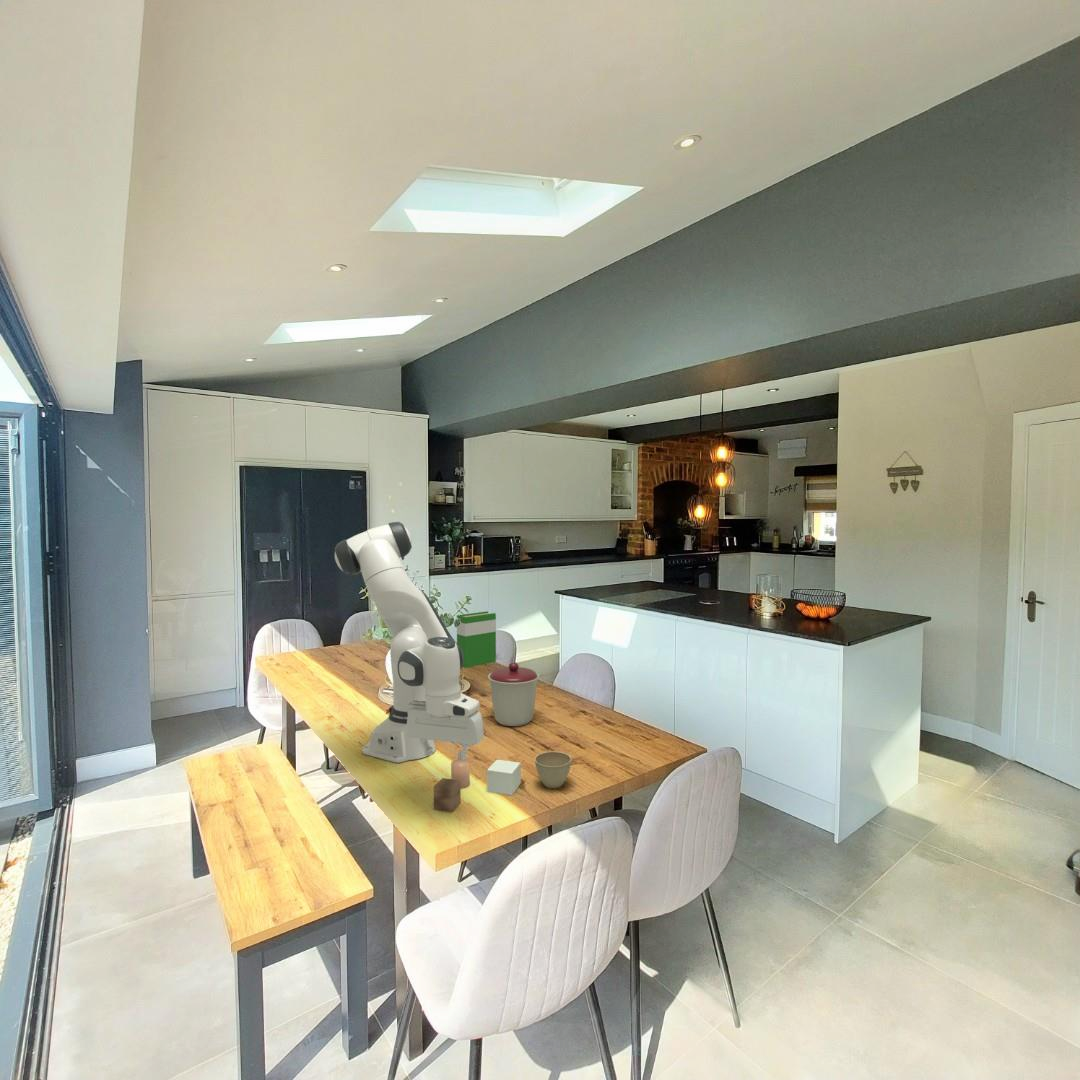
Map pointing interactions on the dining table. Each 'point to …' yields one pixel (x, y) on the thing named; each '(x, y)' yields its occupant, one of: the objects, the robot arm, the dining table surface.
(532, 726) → the dining table surface
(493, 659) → the hardback book
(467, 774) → the terracotta cylinder
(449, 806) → the walnut block
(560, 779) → the flower pot
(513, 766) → the grey block
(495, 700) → the canister
